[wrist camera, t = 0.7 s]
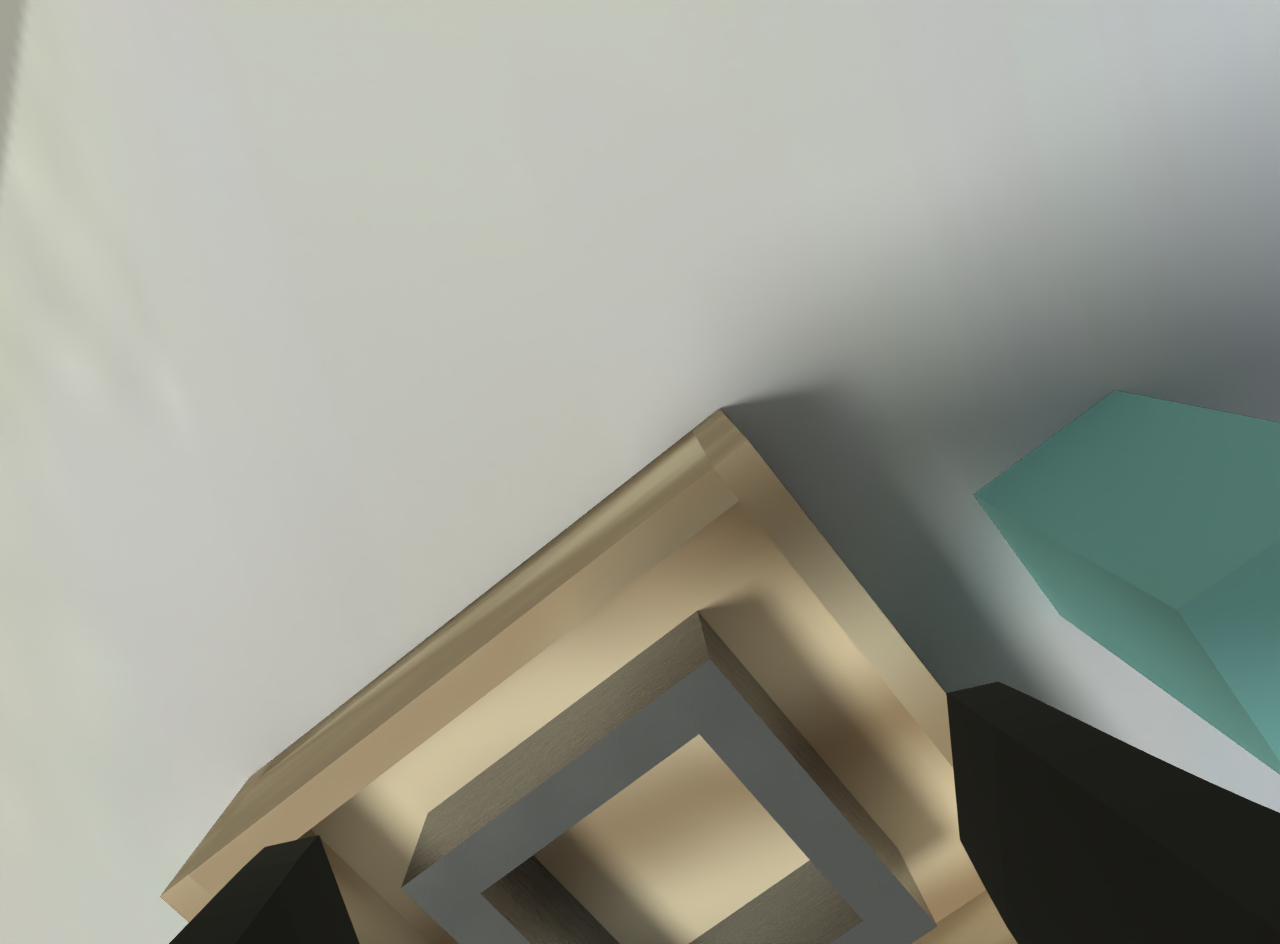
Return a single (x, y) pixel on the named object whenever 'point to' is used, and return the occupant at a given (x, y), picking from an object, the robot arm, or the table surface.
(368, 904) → the oak box
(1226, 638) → the teal peg
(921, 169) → the table surface
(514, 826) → the frame
